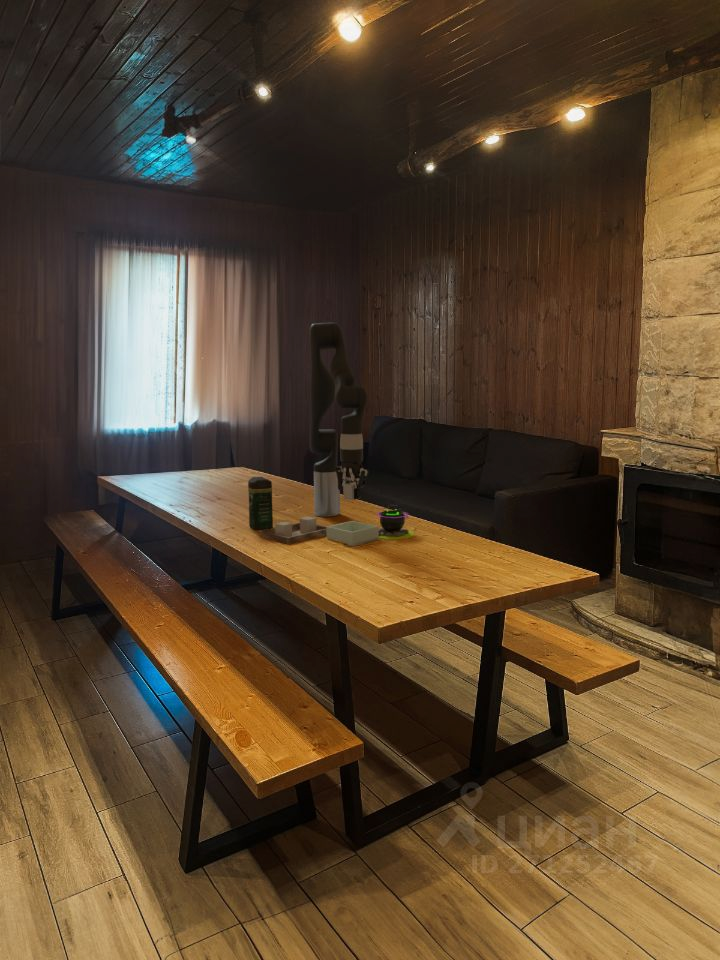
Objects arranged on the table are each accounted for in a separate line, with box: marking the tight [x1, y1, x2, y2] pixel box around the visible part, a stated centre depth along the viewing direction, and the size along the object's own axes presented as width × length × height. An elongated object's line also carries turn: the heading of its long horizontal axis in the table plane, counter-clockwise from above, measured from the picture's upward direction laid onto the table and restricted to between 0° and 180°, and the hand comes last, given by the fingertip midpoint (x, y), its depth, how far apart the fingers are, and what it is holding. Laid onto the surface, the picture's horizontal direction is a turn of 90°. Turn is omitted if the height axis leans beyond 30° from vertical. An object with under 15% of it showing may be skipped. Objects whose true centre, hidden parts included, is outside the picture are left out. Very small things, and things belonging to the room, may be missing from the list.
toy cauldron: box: [375, 504, 415, 540], centre depth 242 cm, size 15×15×11 cm
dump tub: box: [326, 520, 380, 547], centre depth 235 cm, size 12×12×5 cm
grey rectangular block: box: [299, 516, 317, 534], centre depth 243 cm, size 4×4×5 cm
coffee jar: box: [247, 476, 274, 531], centre depth 251 cm, size 10×8×19 cm
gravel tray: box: [259, 522, 327, 545], centre depth 239 cm, size 19×14×3 cm
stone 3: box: [342, 482, 358, 501], centre depth 235 cm, size 4×4×5 cm
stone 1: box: [274, 521, 293, 537], centre depth 235 cm, size 4×4×5 cm
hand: (352, 498), depth 236 cm, fingers closed on stone 3, 4 cm apart
